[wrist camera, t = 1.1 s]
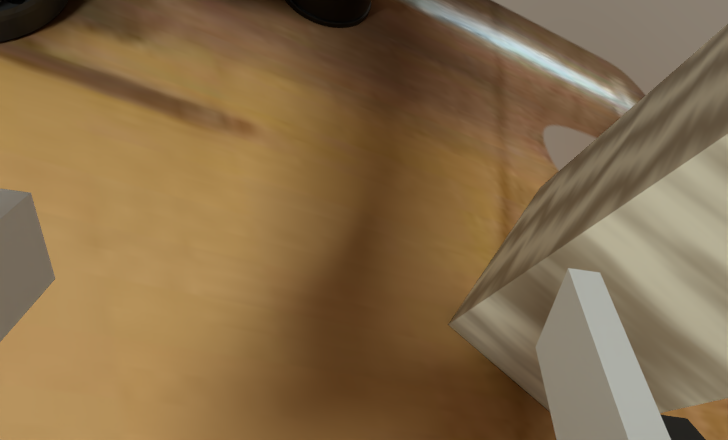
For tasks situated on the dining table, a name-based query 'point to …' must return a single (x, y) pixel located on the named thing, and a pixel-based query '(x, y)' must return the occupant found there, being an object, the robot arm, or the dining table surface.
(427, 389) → the dining table surface
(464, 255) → the dining table surface
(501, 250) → the patterned tall box
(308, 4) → the french press
